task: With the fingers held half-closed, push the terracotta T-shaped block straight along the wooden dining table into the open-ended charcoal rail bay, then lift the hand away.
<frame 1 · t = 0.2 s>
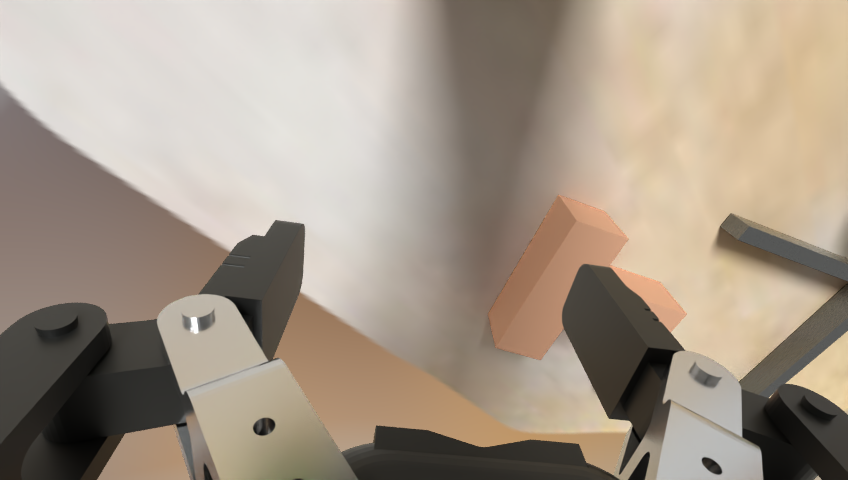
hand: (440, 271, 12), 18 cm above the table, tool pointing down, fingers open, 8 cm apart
T-block: (584, 280, 34), on the table
rail bay: (720, 324, 37), on the table
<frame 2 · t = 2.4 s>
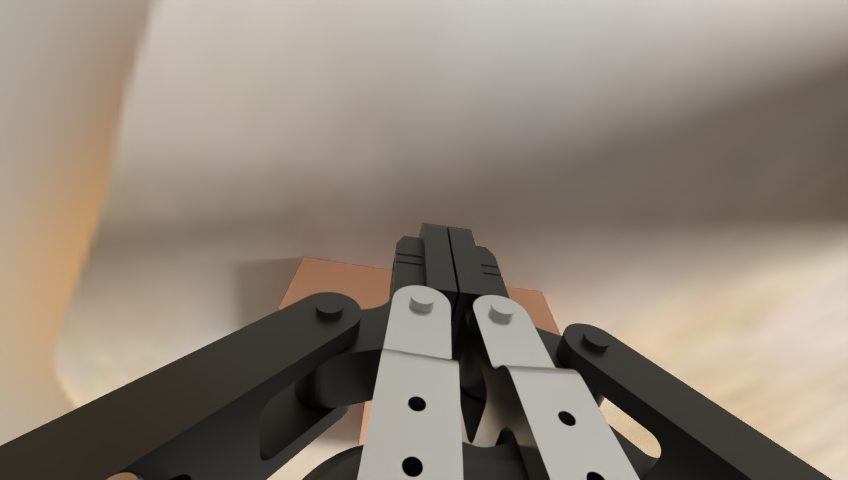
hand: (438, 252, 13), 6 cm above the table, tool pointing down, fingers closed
T-block: (407, 363, 23), on the table
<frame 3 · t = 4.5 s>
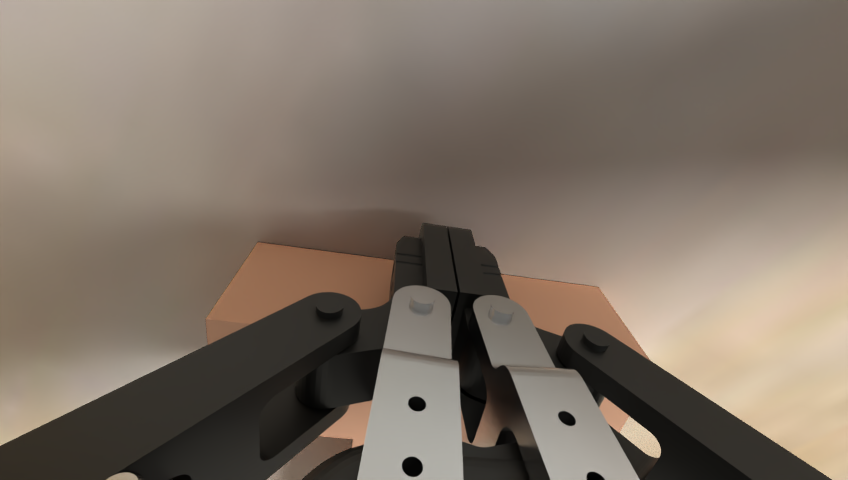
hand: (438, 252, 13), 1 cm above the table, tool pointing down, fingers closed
T-block: (408, 388, 17), on the table, touching gripper
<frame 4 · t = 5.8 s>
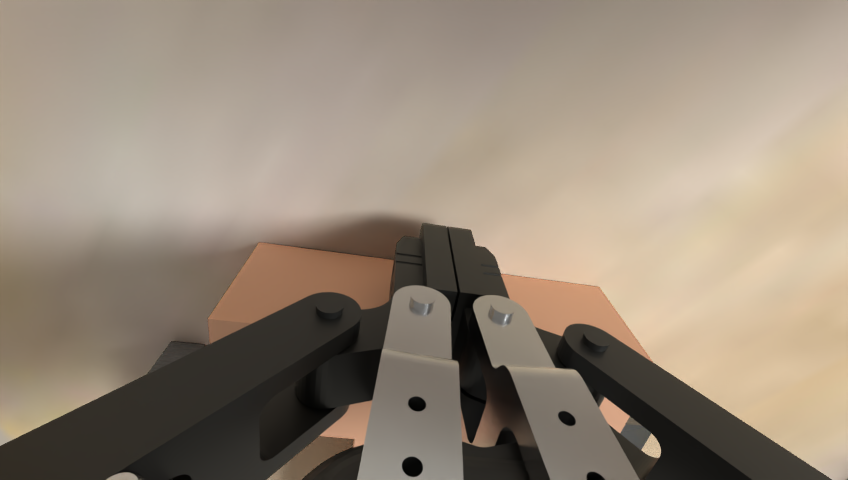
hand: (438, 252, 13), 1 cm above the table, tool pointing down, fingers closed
T-block: (410, 388, 17), on the table, touching gripper
rail bay: (392, 473, 20), on the table
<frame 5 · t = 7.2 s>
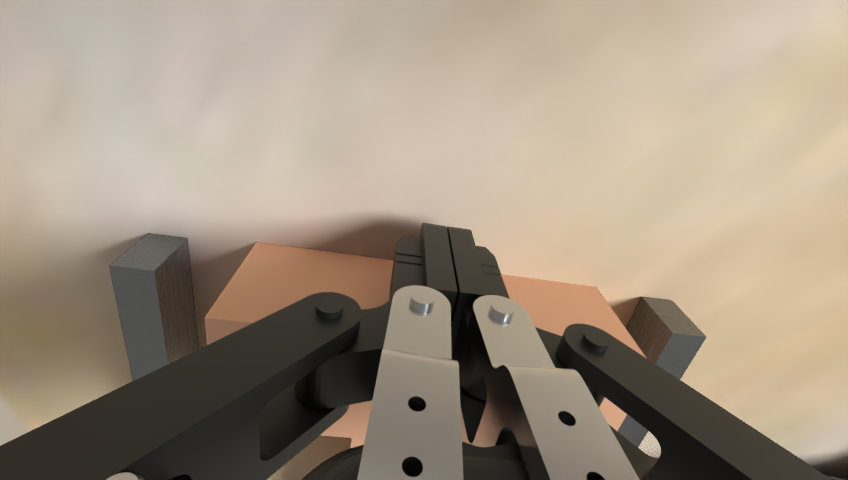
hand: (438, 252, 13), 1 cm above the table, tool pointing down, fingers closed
T-block: (407, 388, 17), on the table, touching gripper
rail bay: (399, 408, 18), on the table
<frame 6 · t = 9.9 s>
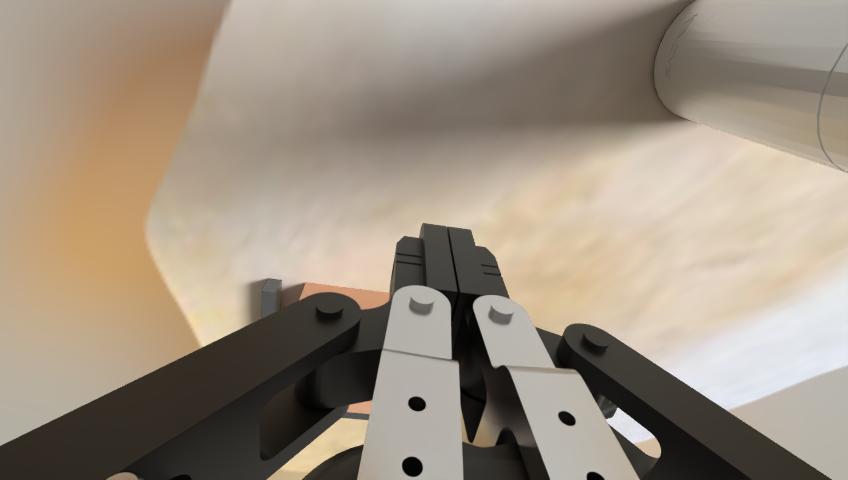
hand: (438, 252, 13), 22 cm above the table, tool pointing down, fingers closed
T-block: (362, 339, 42), on the table
rail bay: (359, 347, 43), on the table
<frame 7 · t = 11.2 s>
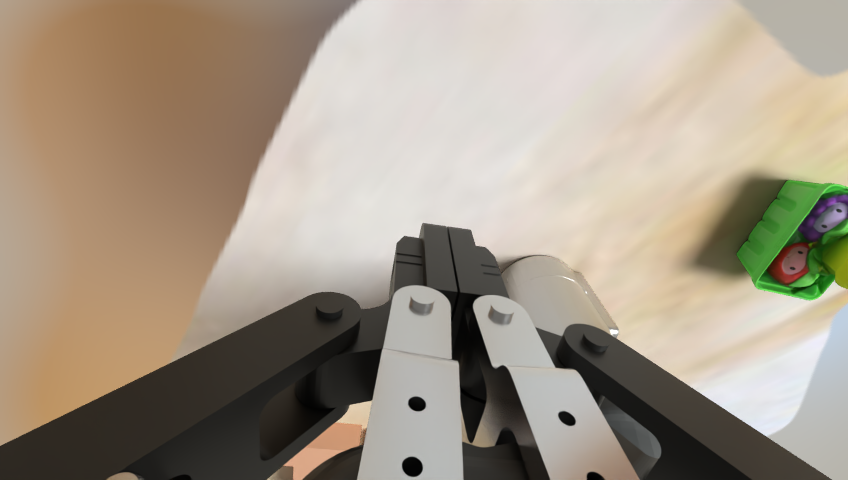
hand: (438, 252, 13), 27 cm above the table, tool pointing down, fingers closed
T-block: (314, 449, 59), on the table
fruit basket: (783, 223, 44), on the table
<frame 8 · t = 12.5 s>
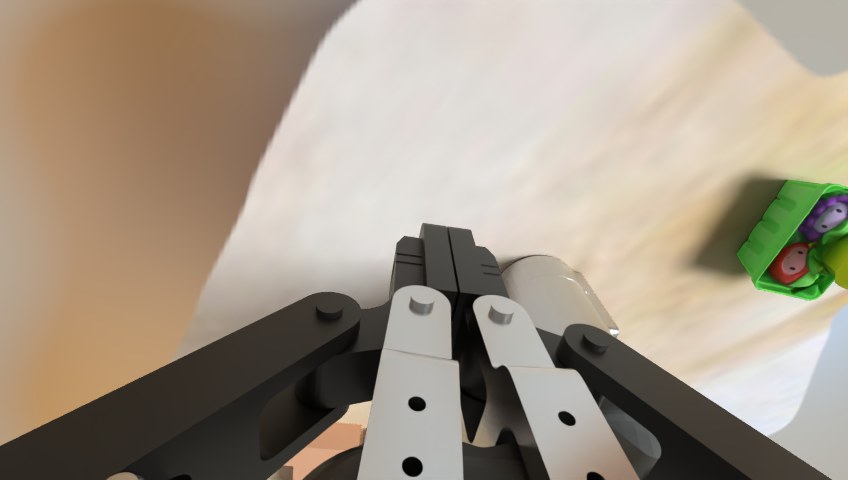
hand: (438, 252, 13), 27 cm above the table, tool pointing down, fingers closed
T-block: (314, 449, 59), on the table
fruit basket: (783, 224, 44), on the table
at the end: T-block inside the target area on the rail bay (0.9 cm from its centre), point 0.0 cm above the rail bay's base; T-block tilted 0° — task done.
